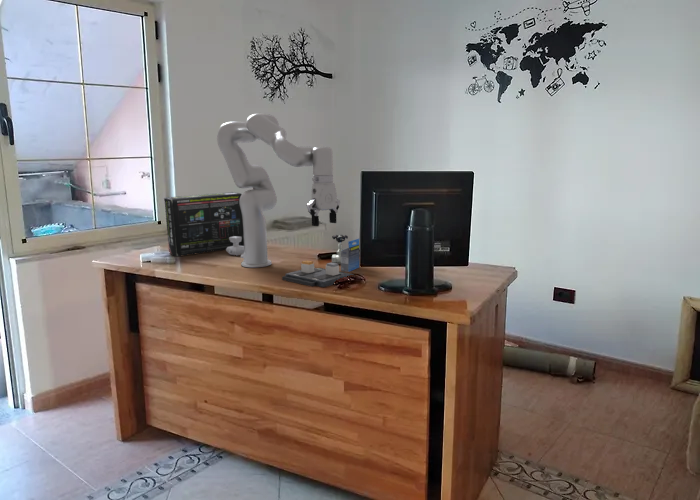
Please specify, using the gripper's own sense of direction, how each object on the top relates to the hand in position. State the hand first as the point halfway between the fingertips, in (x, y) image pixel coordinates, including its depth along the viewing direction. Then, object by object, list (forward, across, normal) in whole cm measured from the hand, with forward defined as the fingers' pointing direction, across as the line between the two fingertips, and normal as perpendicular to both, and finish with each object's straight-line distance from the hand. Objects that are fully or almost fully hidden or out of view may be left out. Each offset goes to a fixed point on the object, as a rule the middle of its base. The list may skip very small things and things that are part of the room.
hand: (324, 224), depth 216 cm
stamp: (+19, 0, +57) cm, 61 cm away
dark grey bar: (+19, -17, -3) cm, 26 cm away
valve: (+20, +16, +7) cm, 26 cm away
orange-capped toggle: (+17, -9, 0) cm, 19 cm away
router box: (+19, -2, +77) cm, 80 cm away
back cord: (+19, +1, -5) cm, 20 cm away
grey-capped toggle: (+17, -6, -10) cm, 21 cm away
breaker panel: (+19, -9, -5) cm, 22 cm away
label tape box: (+20, +11, -4) cm, 23 cm away
